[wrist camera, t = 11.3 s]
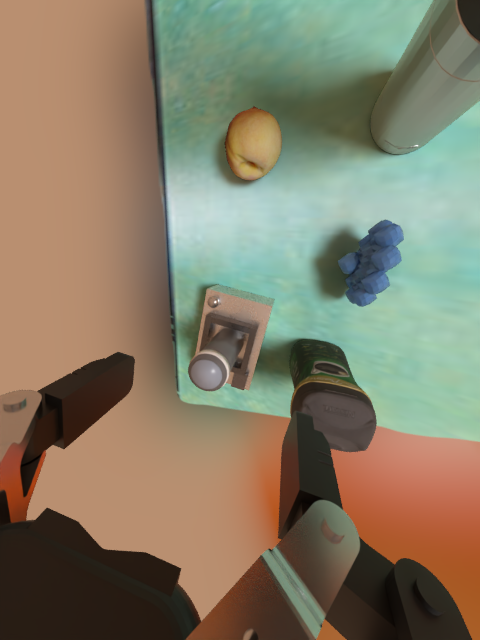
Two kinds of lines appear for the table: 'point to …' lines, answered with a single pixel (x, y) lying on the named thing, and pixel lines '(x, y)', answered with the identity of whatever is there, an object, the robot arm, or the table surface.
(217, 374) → the flashlight
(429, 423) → the table surface
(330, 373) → the coffee jar
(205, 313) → the box with square recess
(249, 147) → the fruit
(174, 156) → the table surface
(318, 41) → the table surface
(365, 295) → the grapes
